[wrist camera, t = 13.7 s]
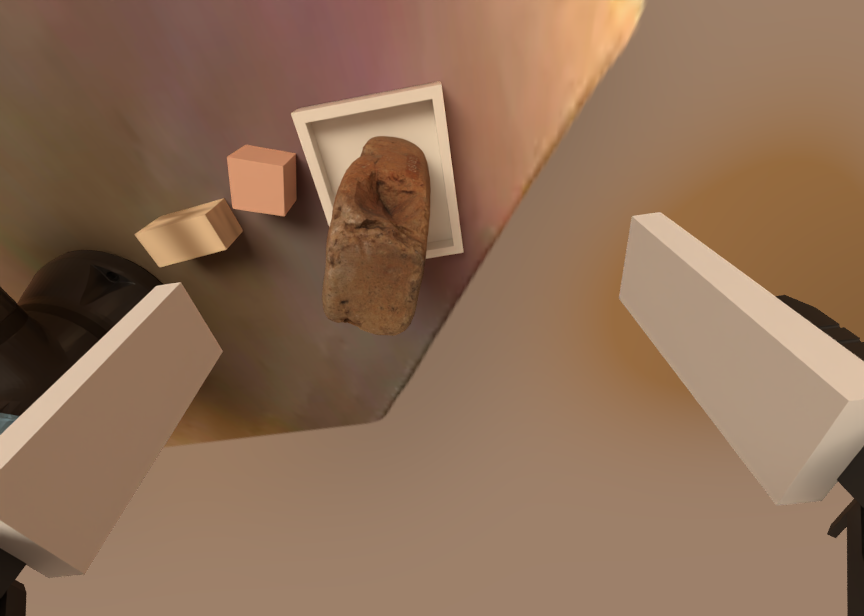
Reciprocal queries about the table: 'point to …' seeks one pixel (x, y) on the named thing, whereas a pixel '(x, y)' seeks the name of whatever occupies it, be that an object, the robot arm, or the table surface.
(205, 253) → the oak brick
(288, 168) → the terracotta cube
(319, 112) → the tray
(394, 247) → the brown rough rounded part
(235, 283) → the table surface
